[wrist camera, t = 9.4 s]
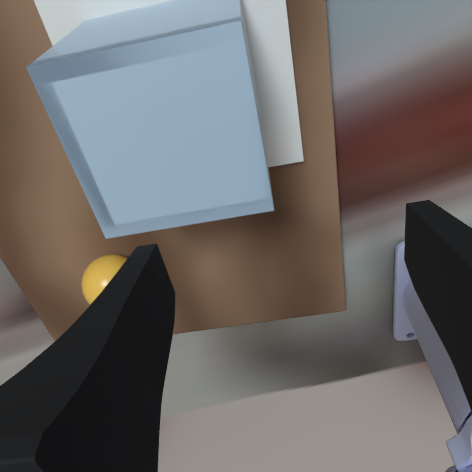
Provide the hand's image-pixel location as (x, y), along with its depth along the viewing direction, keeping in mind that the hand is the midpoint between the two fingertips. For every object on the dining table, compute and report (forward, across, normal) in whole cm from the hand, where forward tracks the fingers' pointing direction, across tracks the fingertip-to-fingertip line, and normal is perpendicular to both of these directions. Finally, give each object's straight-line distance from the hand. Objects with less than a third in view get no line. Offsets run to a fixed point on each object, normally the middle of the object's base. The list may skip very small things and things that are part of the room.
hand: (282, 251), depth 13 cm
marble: (+7, +9, +6) cm, 13 cm away
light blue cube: (+8, +3, -3) cm, 9 cm away
